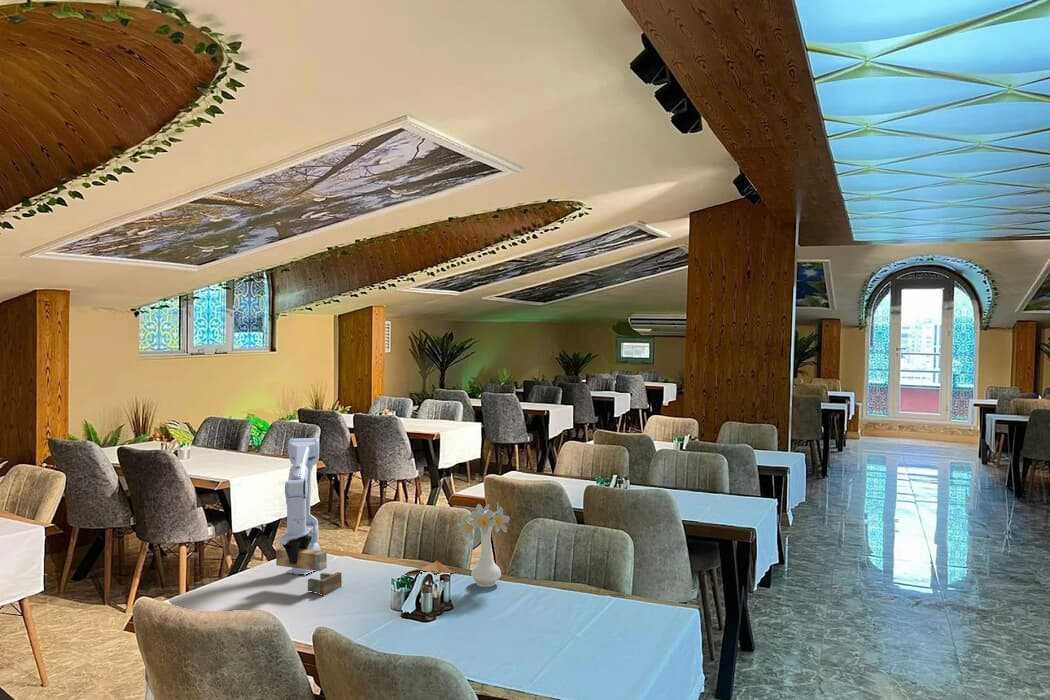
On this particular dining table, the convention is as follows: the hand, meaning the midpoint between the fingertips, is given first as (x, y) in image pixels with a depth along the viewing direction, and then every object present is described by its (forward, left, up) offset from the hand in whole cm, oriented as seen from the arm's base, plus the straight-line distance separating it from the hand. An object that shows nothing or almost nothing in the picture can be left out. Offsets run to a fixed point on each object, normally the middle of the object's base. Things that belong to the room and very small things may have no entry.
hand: (297, 561), depth 251 cm
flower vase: (-24, +53, -9) cm, 59 cm away
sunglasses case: (-24, +33, -9) cm, 42 cm away
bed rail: (0, +2, -1) cm, 2 cm away
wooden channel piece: (-1, +8, -8) cm, 12 cm away
